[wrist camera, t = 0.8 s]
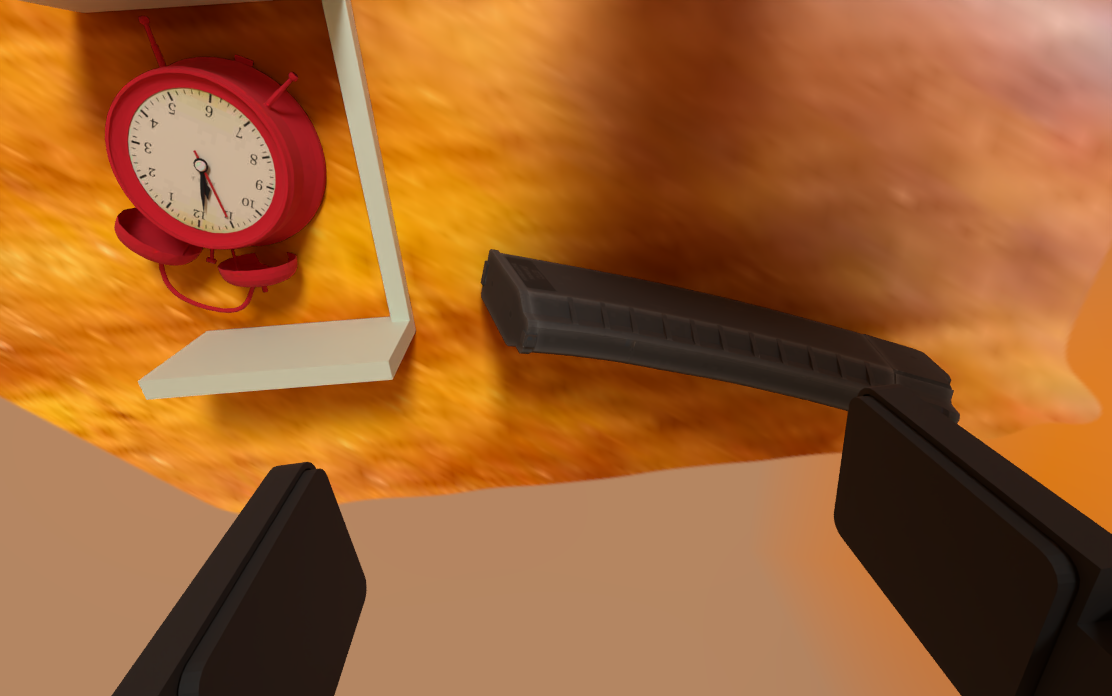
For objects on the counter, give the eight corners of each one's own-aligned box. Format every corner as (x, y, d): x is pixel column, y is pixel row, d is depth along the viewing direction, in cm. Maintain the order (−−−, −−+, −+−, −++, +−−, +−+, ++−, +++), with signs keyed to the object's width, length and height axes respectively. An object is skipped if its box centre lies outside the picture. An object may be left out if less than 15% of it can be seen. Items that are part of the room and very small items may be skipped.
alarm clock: (322, 75, 26) (258, 351, 29) (353, 103, 32) (298, 329, 35) (94, -11, 24) (48, 294, 27) (172, 36, 30) (129, 281, 33)
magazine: (420, 336, 27) (1034, 543, 23) (429, 277, 25) (1081, 487, 22) (519, 265, 42) (895, 382, 39) (527, 226, 41) (918, 344, 37)
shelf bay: (72, -15, 27) (-68, -50, 21) (343, -32, 27) (288, -73, 21) (213, 346, 36) (146, 399, 30) (415, 330, 36) (392, 379, 30)
